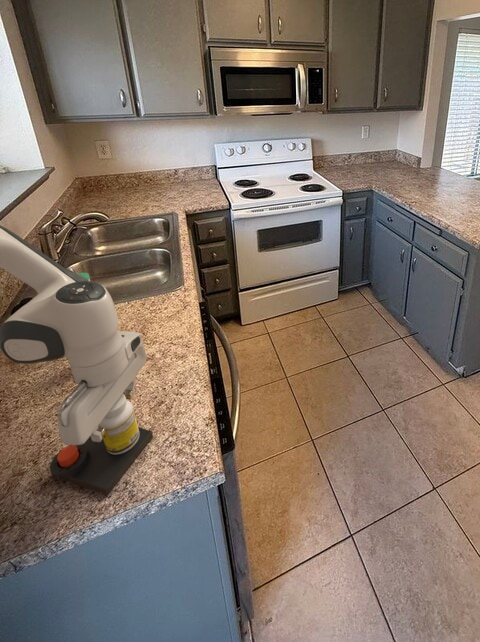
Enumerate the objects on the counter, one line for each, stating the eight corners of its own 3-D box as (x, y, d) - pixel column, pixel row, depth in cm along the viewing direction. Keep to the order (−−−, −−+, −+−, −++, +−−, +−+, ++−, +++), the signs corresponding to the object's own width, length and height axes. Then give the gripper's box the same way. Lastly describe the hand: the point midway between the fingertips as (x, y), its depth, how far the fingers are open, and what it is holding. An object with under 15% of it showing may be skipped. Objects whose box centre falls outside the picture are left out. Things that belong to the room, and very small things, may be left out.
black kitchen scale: (47, 481, 69) (41, 469, 68) (103, 422, 81) (99, 411, 79) (103, 502, 65) (98, 489, 64) (153, 437, 77) (150, 425, 76)
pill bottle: (108, 434, 76) (96, 395, 72) (140, 423, 78) (130, 385, 74) (104, 461, 70) (91, 420, 67) (139, 448, 73) (128, 408, 69)
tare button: (55, 465, 69) (53, 458, 68) (70, 449, 72) (68, 443, 71) (68, 469, 68) (65, 463, 67) (83, 453, 71) (81, 447, 70)
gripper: (74, 411, 57) (93, 470, 62) (146, 328, 76) (157, 378, 81) (37, 408, 58) (60, 467, 62) (118, 326, 77) (131, 376, 82)
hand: (115, 416), depth 72 cm, fingers open, 8 cm apart
